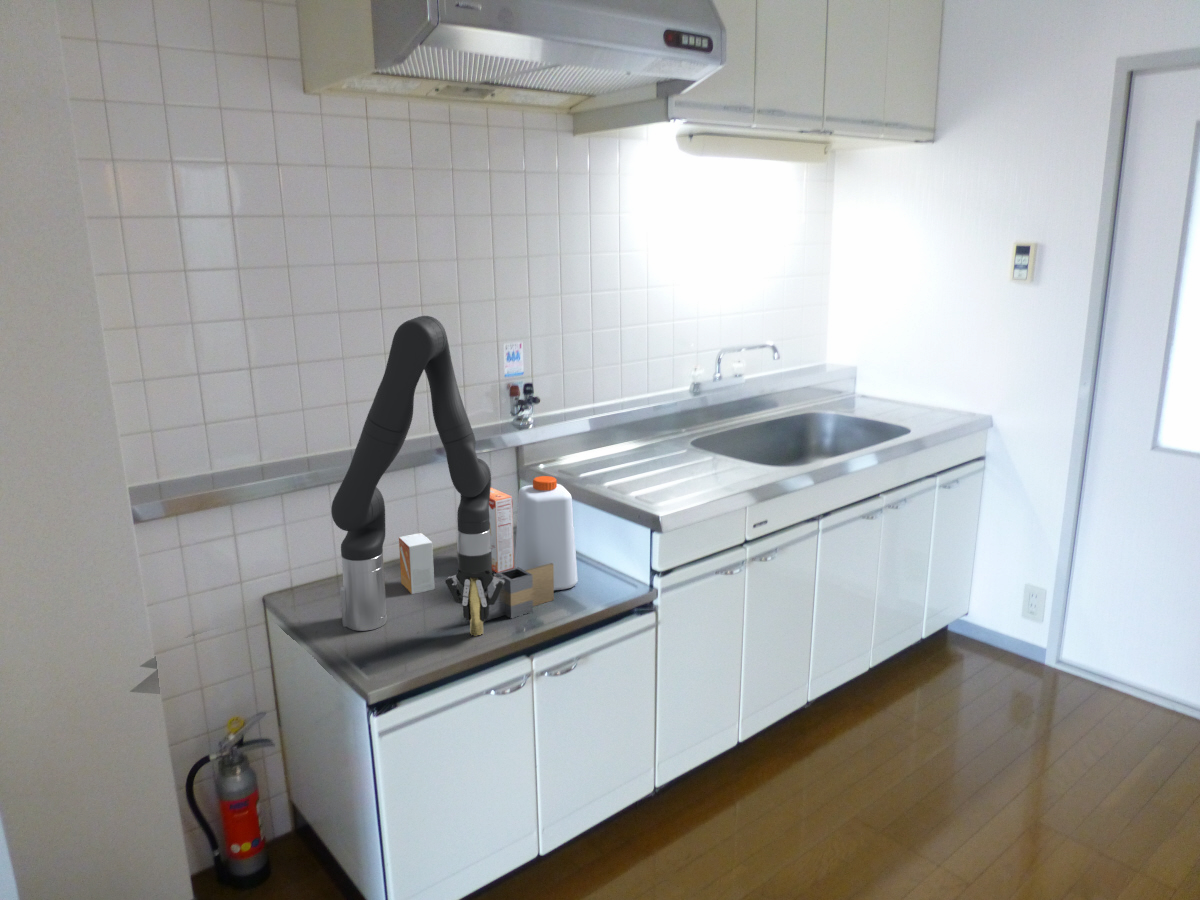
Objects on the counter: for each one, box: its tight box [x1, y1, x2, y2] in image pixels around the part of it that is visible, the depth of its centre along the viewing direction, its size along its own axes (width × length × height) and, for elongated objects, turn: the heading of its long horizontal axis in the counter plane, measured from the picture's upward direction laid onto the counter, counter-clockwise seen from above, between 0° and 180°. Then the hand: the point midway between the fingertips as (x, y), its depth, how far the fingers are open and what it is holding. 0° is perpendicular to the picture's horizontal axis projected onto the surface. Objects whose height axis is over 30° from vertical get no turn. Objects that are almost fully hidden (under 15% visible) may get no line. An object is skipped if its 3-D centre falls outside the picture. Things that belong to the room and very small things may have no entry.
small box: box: [398, 532, 435, 595], centre depth 222 cm, size 8×6×13 cm
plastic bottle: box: [514, 475, 579, 591], centre depth 224 cm, size 15×15×28 cm
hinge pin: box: [469, 578, 484, 637], centre depth 197 cm, size 3×3×14 cm
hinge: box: [485, 563, 555, 622], centre depth 209 cm, size 22×6×10 cm, turn 128°
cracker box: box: [489, 487, 515, 574], centre depth 237 cm, size 14×6×21 cm, turn 39°
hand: (476, 619), depth 197 cm, fingers closed on hinge pin, 3 cm apart
